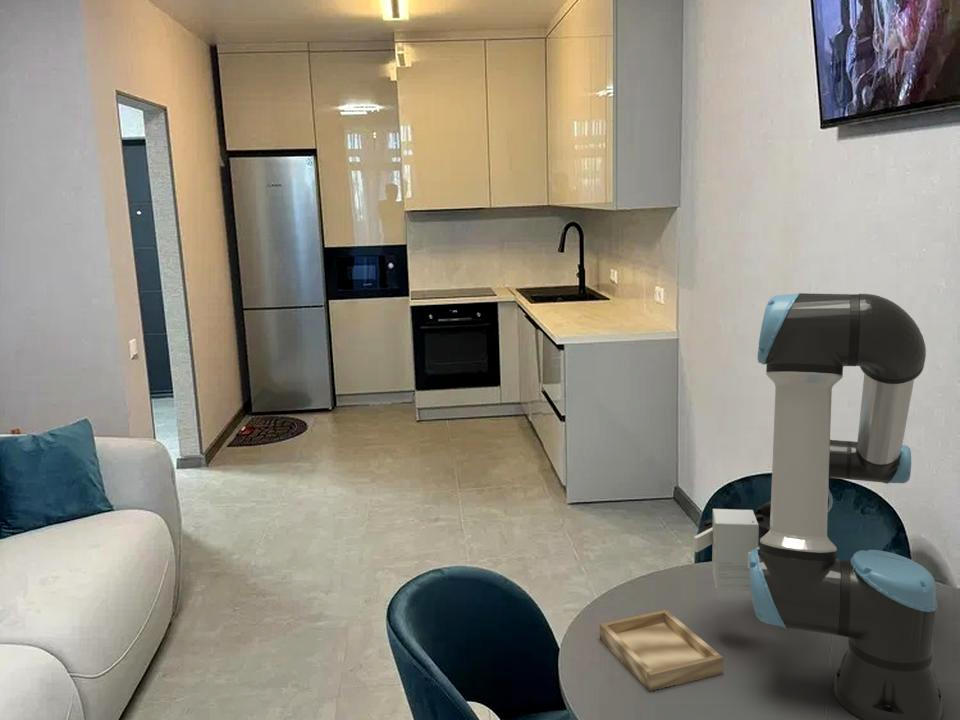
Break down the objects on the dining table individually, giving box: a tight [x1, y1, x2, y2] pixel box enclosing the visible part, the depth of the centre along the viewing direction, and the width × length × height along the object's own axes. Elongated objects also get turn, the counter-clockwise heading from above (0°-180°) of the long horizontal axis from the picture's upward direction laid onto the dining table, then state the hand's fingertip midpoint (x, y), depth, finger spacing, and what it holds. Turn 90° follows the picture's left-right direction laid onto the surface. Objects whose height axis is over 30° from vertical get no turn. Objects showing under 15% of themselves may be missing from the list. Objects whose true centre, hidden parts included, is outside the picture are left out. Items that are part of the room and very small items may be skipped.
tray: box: [599, 609, 724, 692], centre depth 139 cm, size 18×14×3 cm
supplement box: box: [711, 508, 760, 592], centre depth 141 cm, size 7×7×13 cm
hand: (721, 552), depth 138 cm, fingers closed on supplement box, 10 cm apart
